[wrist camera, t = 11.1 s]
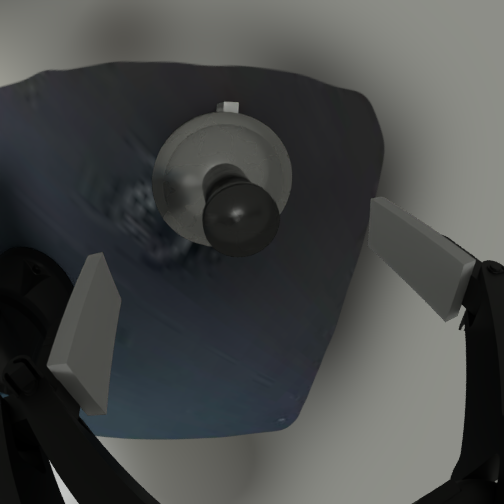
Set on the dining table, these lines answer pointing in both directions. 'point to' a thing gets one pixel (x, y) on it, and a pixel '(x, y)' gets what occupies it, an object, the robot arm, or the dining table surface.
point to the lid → (223, 182)
